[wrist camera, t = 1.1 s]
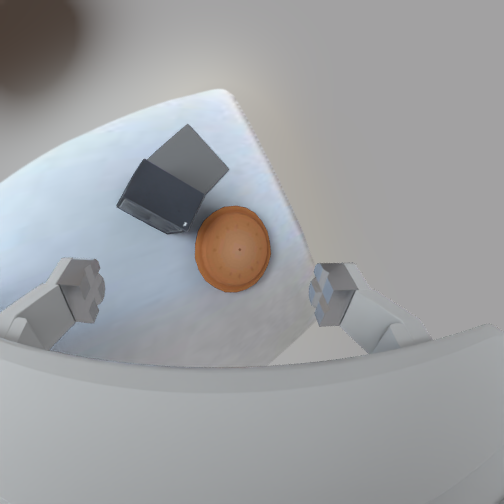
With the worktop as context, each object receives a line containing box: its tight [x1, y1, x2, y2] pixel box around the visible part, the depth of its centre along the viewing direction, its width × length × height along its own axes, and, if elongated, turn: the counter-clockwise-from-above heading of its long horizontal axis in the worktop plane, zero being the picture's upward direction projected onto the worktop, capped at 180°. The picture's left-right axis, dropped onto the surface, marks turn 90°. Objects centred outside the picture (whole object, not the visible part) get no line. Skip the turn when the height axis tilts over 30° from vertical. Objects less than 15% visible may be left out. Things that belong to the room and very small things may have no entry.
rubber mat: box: [147, 124, 229, 194], centre depth 46 cm, size 11×12×1 cm
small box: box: [117, 159, 205, 234], centre depth 39 cm, size 11×6×10 cm, turn 63°
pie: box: [195, 206, 271, 292], centre depth 49 cm, size 16×16×5 cm
